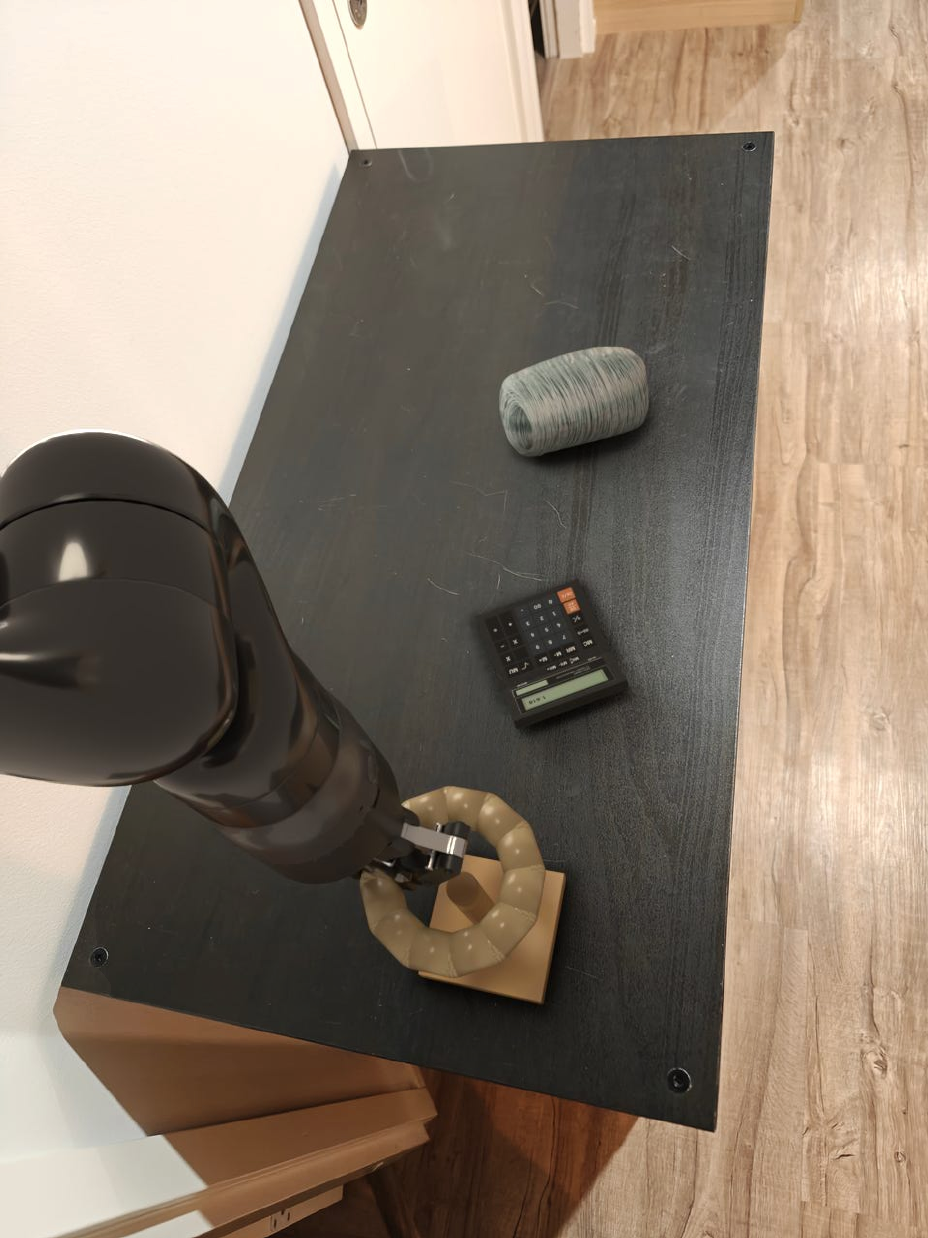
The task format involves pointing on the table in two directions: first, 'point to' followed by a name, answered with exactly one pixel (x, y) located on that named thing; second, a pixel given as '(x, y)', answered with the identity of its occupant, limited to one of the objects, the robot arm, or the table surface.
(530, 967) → the wooden peg stand
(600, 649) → the calculator
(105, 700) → the robot arm
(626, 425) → the spool
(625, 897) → the table surface
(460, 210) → the table surface
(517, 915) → the segmented beige ring
